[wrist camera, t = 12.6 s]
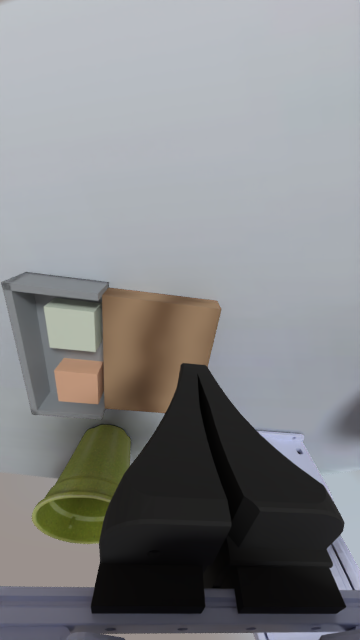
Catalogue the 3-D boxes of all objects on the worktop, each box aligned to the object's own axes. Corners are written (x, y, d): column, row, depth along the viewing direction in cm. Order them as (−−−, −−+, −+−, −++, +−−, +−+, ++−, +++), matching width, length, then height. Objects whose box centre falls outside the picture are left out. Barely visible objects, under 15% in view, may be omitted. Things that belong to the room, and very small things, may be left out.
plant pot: (75, 406, 26) (33, 489, 18) (151, 422, 27) (142, 505, 20) (67, 453, 30) (29, 538, 22) (134, 465, 31) (121, 548, 24)
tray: (108, 282, 19) (97, 293, 17) (109, 397, 25) (101, 419, 23) (26, 272, 19) (1, 281, 16) (47, 392, 25) (32, 414, 22)
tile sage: (101, 303, 20) (94, 312, 18) (102, 340, 21) (95, 352, 20) (55, 297, 19) (43, 306, 18) (60, 336, 21) (49, 347, 19)
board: (217, 300, 20) (221, 309, 18) (194, 401, 26) (195, 415, 24) (108, 287, 19) (102, 295, 18) (109, 394, 25) (104, 408, 23)
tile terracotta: (103, 361, 23) (97, 374, 21) (103, 390, 24) (98, 404, 23) (63, 357, 22) (53, 370, 20) (67, 387, 24) (58, 401, 22)
